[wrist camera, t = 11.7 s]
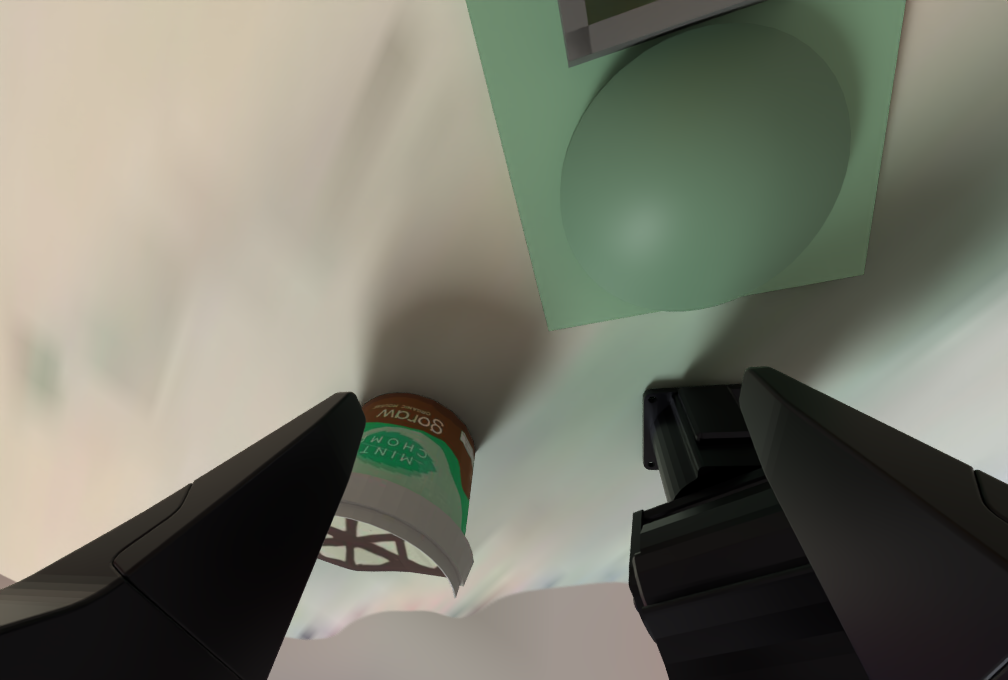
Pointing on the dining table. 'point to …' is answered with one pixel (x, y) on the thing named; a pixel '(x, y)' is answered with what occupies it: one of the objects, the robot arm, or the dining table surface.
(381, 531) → the food container
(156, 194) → the dining table surface
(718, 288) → the green domed base plate
